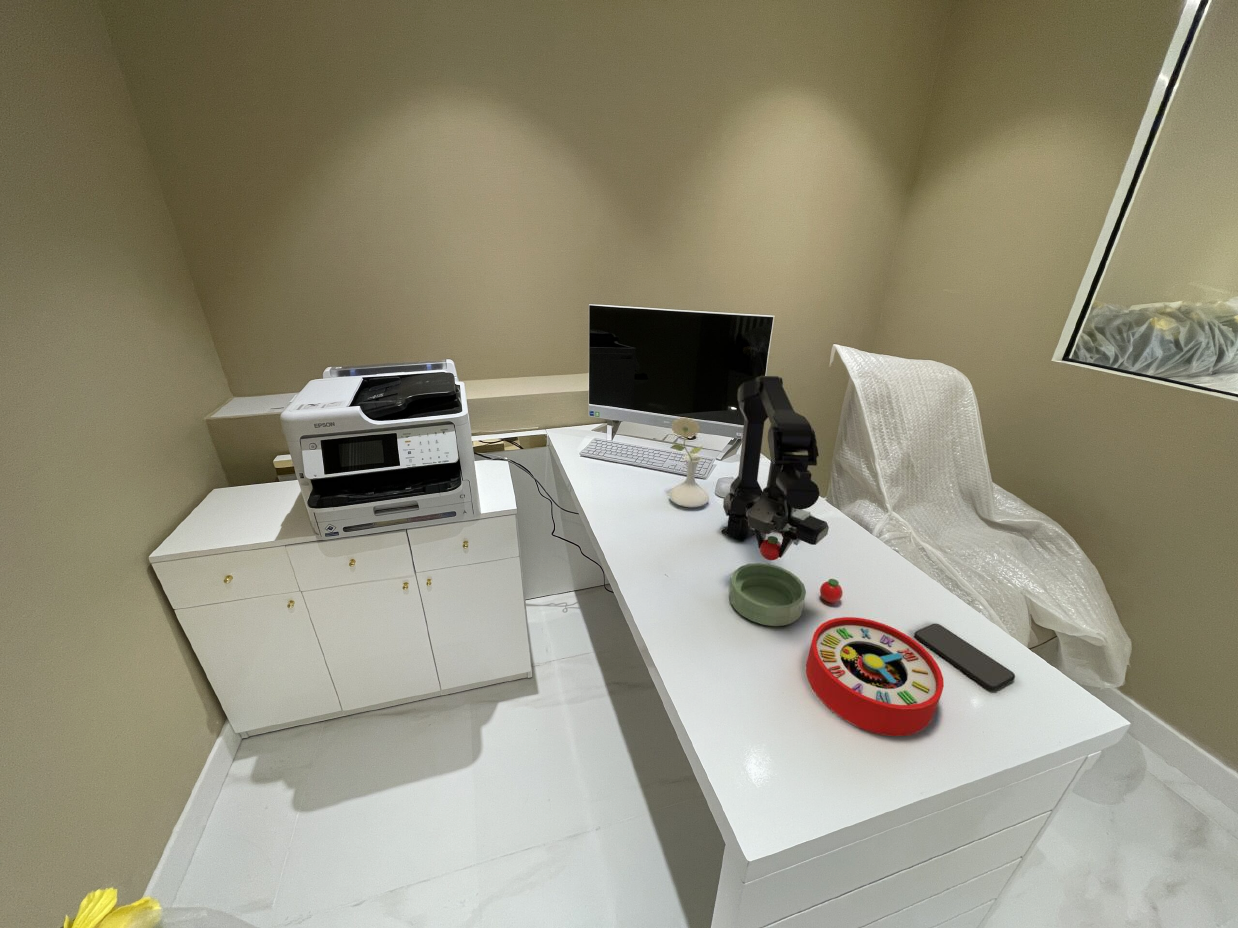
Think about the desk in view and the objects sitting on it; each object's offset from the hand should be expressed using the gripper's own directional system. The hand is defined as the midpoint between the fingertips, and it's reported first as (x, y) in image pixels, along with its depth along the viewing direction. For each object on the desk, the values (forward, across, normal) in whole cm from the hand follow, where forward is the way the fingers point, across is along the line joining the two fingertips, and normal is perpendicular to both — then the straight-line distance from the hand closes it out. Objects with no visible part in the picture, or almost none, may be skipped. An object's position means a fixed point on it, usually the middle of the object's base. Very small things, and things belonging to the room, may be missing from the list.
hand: (770, 552), depth 103 cm
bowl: (+11, +2, -2) cm, 11 cm away
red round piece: (+2, 0, 0) cm, 2 cm away
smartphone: (+11, +35, +11) cm, 38 cm away
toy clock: (+11, +25, -8) cm, 28 cm away
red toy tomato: (+11, +11, +9) cm, 18 cm away
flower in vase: (+11, -37, +22) cm, 45 cm away
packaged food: (+11, -7, +30) cm, 33 cm away
